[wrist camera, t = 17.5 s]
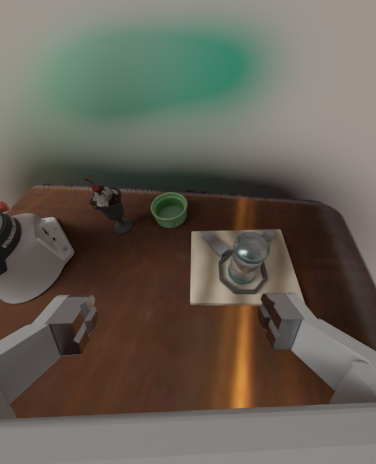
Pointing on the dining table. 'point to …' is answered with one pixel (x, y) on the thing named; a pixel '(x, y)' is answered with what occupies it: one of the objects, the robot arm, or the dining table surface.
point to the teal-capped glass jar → (247, 257)
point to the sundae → (110, 206)
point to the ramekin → (169, 209)
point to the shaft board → (217, 262)
